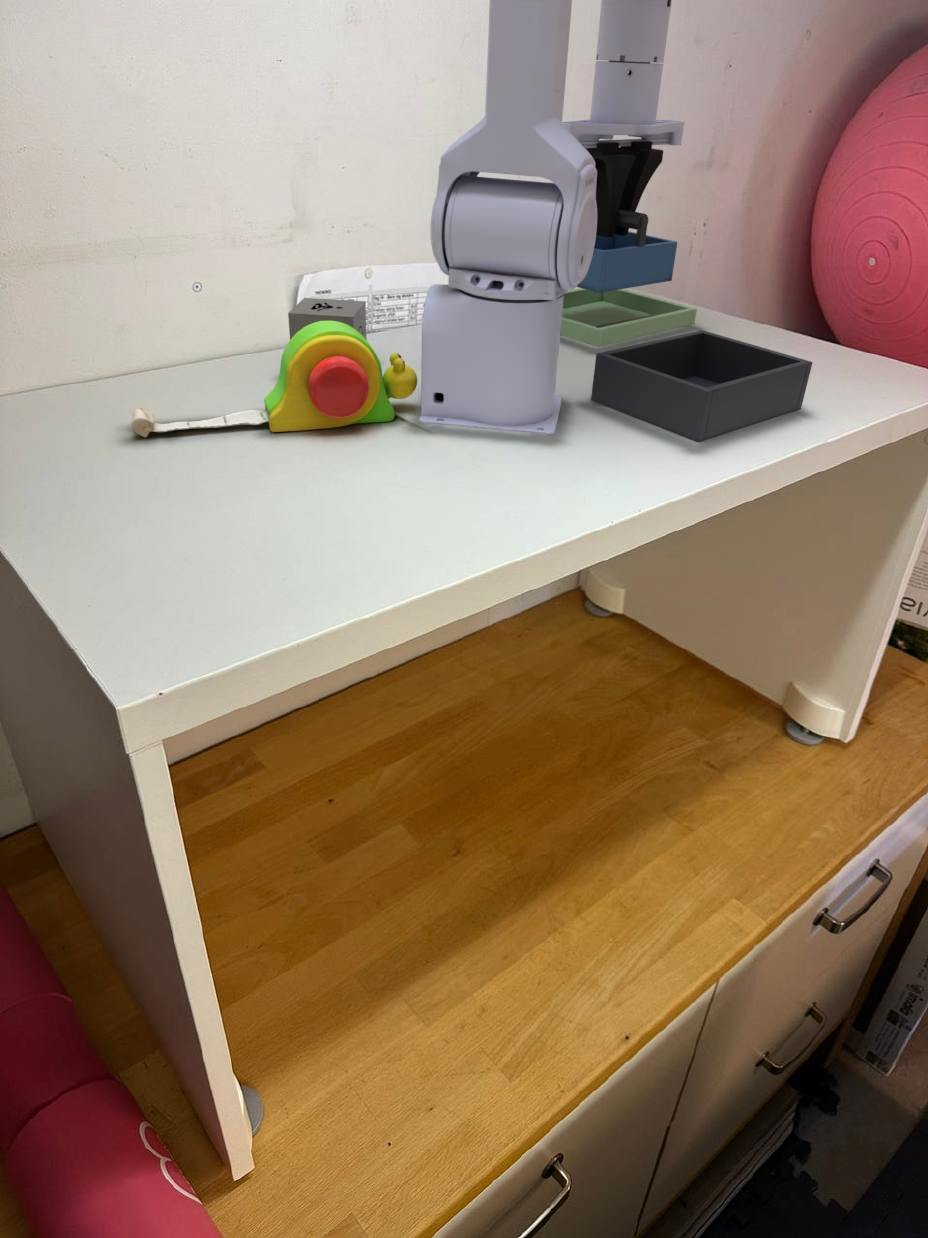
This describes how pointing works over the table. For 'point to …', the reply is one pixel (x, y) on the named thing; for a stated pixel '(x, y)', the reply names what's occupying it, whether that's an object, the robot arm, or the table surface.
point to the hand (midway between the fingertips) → (609, 234)
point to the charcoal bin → (700, 383)
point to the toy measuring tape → (317, 386)
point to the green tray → (619, 315)
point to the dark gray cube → (328, 314)
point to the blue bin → (629, 257)
